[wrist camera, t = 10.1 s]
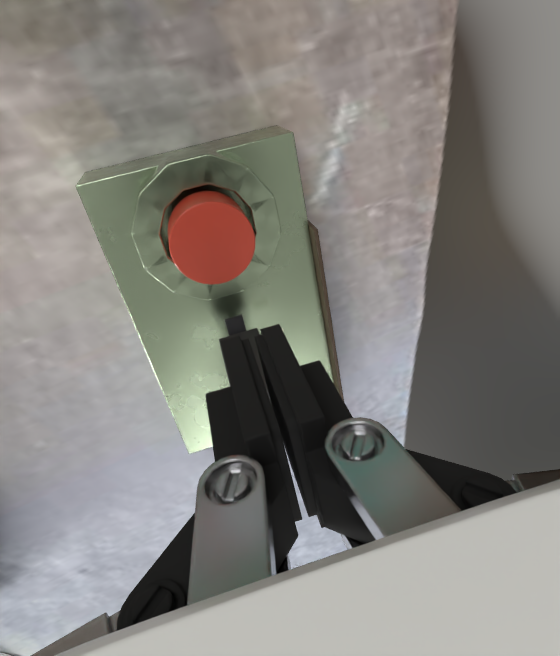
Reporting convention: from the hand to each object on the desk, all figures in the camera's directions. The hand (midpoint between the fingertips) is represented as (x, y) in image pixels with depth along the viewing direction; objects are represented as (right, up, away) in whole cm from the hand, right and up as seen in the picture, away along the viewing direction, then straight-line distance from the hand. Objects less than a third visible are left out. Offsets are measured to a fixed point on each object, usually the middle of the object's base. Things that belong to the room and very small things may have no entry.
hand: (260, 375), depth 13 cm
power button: (-3, +6, +8) cm, 10 cm away
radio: (-3, +3, +15) cm, 15 cm away
